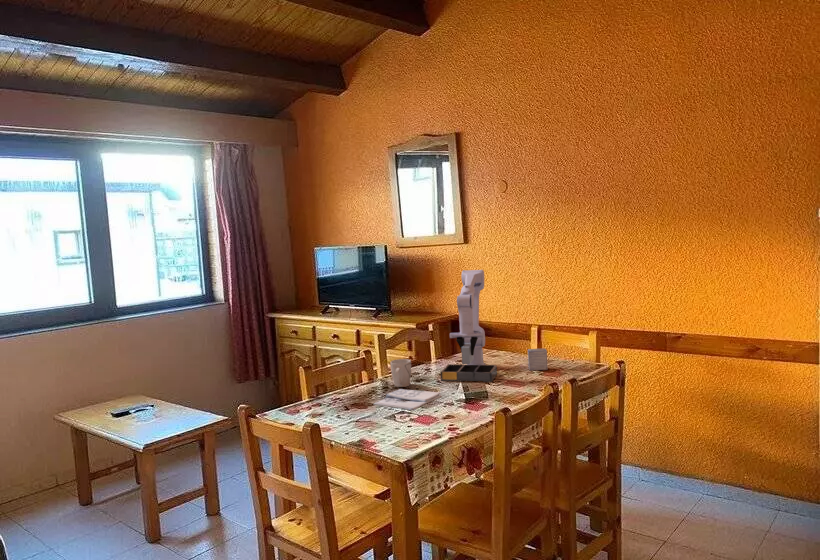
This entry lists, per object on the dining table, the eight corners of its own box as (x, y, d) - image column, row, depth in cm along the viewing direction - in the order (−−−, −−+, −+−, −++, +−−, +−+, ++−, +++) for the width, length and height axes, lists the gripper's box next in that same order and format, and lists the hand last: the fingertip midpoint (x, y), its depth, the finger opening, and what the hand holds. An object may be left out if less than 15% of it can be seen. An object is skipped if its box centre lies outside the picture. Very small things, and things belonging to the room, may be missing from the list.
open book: (442, 397, 232) (441, 392, 232) (412, 412, 216) (412, 406, 216) (401, 392, 243) (400, 386, 243) (369, 406, 227) (369, 400, 226)
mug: (408, 390, 243) (407, 365, 243) (387, 390, 245) (386, 365, 244) (414, 382, 255) (412, 358, 254) (394, 382, 256) (392, 359, 255)
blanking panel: (466, 359, 262) (465, 343, 262) (473, 359, 262) (472, 343, 261) (462, 364, 254) (461, 347, 253) (469, 364, 253) (468, 347, 252)
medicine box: (546, 367, 267) (545, 348, 266) (547, 370, 263) (547, 350, 262) (528, 368, 268) (527, 348, 267) (529, 370, 263) (528, 350, 263)
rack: (448, 372, 267) (448, 364, 267) (496, 373, 261) (496, 365, 261) (440, 381, 254) (440, 372, 254) (491, 382, 248) (491, 373, 248)
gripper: (447, 324, 255) (449, 356, 256) (481, 324, 251) (483, 357, 252) (450, 321, 262) (452, 353, 263) (484, 321, 258) (486, 353, 259)
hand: (467, 354), depth 258 cm, fingers closed on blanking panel, 3 cm apart
